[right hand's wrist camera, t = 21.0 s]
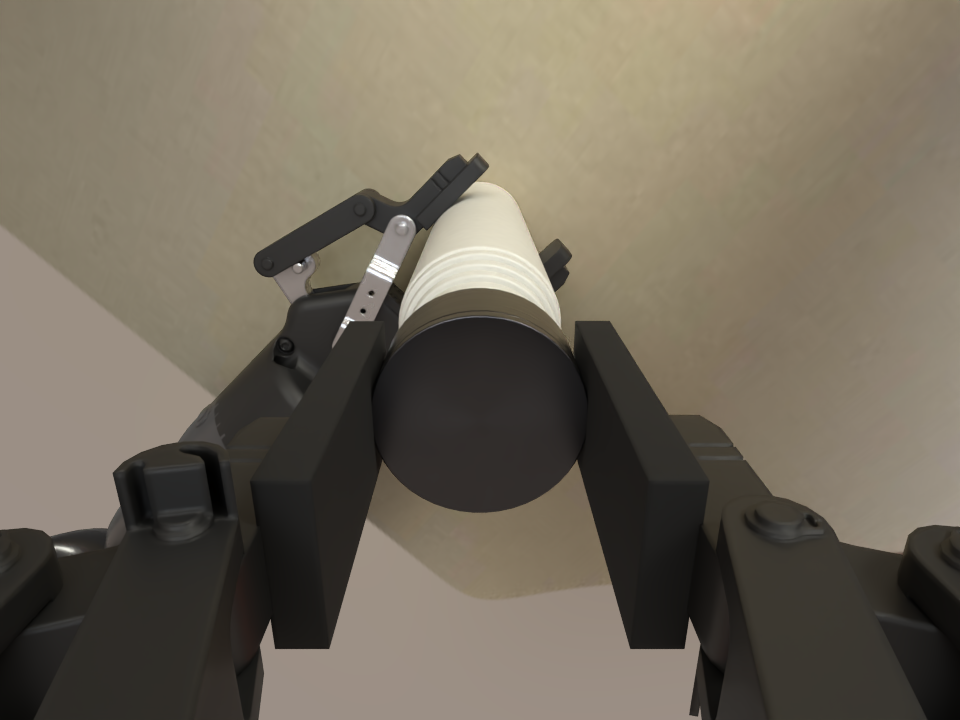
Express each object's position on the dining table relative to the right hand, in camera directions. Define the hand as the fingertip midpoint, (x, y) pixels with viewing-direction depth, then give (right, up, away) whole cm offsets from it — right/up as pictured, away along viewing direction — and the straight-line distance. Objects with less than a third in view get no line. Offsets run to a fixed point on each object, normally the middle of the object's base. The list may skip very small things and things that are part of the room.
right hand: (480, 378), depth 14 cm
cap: (0, -1, -2) cm, 2 cm away
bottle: (0, +8, +20) cm, 21 cm away
